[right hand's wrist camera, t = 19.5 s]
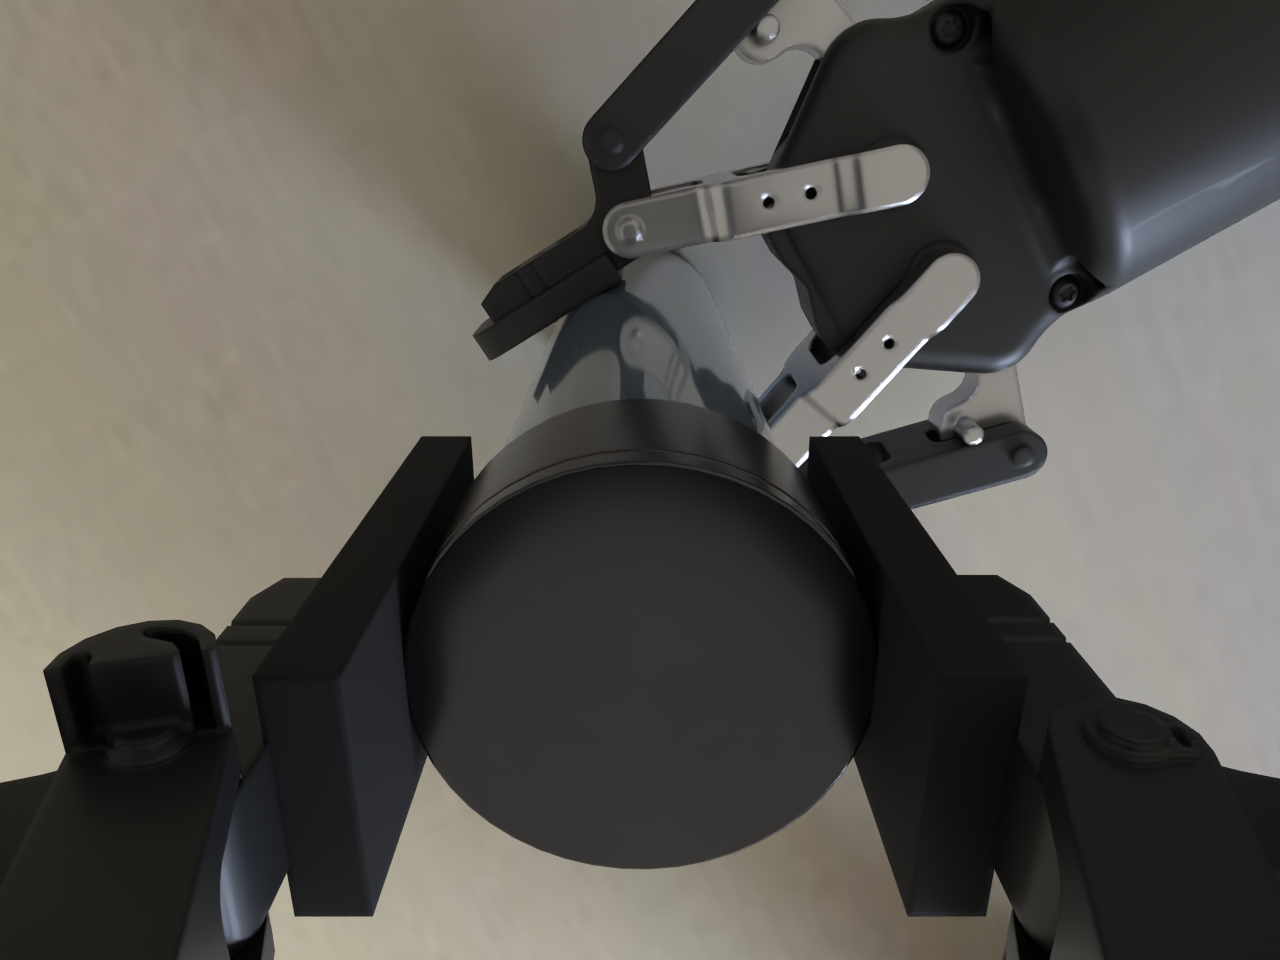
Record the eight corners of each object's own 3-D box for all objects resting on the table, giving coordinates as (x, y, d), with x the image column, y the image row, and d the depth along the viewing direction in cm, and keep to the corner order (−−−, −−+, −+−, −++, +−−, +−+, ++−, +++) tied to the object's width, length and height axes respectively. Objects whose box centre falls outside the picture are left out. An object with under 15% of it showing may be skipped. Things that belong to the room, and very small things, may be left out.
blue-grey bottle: (567, 400, 29) (458, 811, 12) (559, 247, 28) (416, 459, 10) (716, 396, 29) (832, 803, 12) (717, 243, 27) (855, 450, 10)
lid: (904, 478, 12) (965, 559, 9) (746, 789, 13) (766, 917, 11) (512, 336, 11) (480, 387, 9) (400, 684, 13) (350, 798, 11)
